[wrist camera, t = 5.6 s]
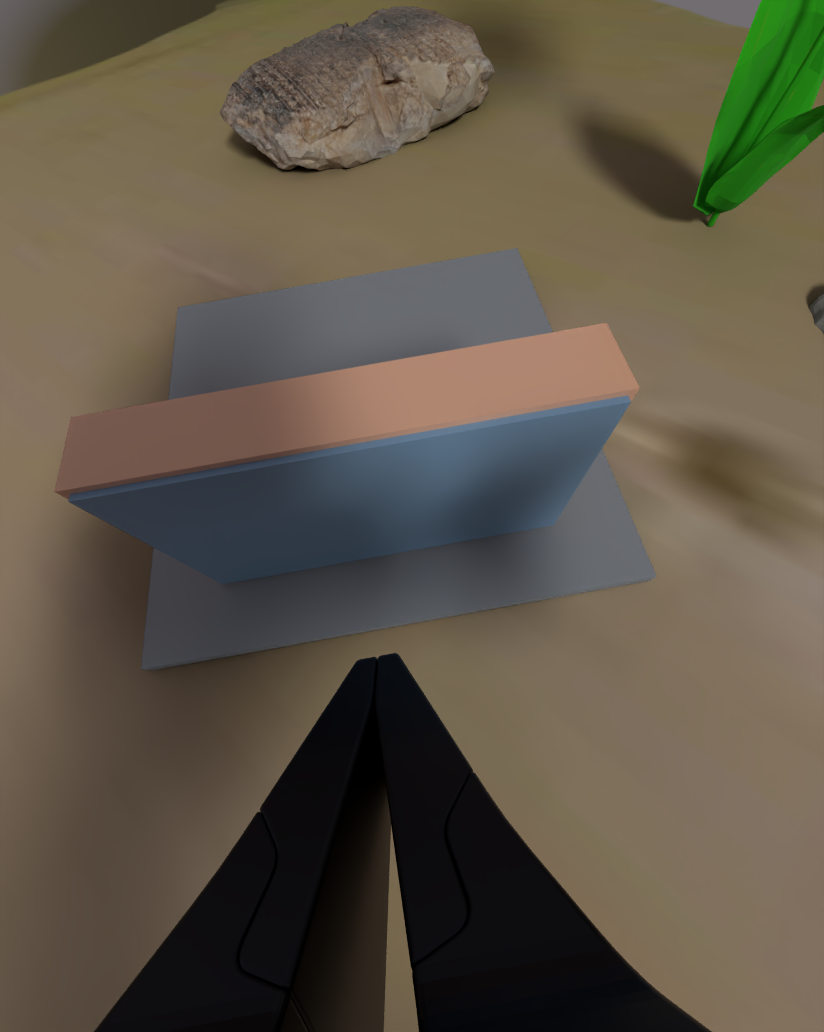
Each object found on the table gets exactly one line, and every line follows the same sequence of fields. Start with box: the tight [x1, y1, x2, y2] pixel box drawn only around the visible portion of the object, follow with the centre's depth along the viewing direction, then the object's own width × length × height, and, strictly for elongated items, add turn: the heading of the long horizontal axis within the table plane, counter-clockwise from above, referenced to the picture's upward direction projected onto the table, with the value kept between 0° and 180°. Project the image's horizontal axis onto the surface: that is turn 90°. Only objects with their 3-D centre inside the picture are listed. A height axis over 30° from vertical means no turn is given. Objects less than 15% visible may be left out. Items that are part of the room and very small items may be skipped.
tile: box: [55, 323, 639, 584], centre depth 14 cm, size 2×14×8 cm, turn 99°
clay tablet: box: [220, 7, 495, 170], centre depth 31 cm, size 14×5×20 cm
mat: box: [141, 248, 657, 670], centre depth 20 cm, size 20×20×1 cm
